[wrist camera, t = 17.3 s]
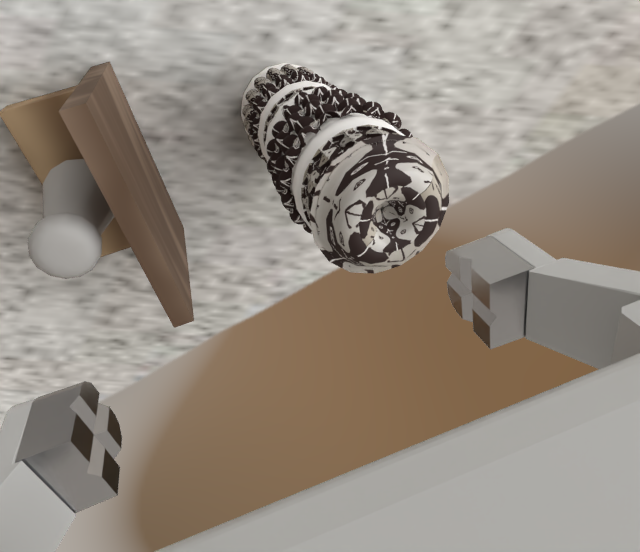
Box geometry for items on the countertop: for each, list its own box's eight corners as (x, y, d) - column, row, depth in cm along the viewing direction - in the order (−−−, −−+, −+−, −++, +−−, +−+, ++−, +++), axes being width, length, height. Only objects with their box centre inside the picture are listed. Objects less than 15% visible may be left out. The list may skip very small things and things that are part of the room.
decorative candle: (283, 33, 41) (407, 85, 21) (349, 108, 46) (501, 208, 26) (215, 113, 43) (268, 231, 23) (286, 176, 48) (381, 320, 28)
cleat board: (96, 257, 47) (73, 363, 34) (-1, 93, 38) (-84, 153, 25) (183, 227, 48) (193, 320, 35) (109, 61, 39) (86, 103, 26)
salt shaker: (103, 226, 43) (87, 306, 32) (36, 194, 40) (-7, 272, 29) (135, 173, 41) (128, 240, 31) (68, 137, 38) (34, 196, 28)
